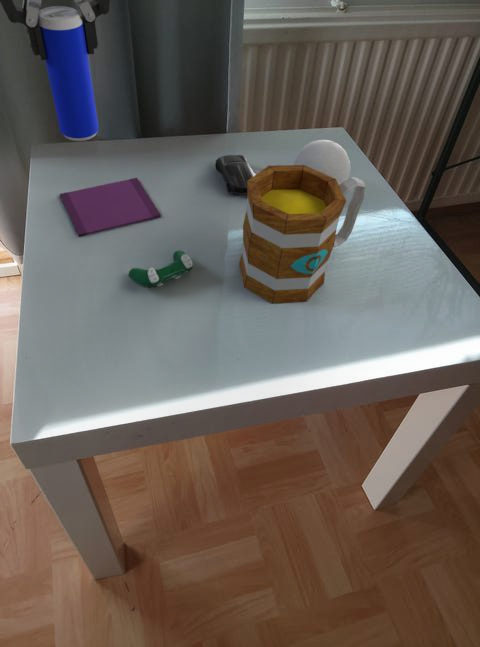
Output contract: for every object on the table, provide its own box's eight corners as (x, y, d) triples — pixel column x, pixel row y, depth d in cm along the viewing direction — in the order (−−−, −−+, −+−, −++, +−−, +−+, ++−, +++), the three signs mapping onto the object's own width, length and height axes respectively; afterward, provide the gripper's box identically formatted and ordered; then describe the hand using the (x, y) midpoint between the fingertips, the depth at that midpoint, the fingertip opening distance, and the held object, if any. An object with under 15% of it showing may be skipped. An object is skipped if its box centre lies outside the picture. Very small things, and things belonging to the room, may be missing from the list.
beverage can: (87, 120, 73) (68, 2, 61) (106, 136, 70) (89, 16, 59) (54, 130, 70) (27, 9, 59) (71, 146, 68) (47, 23, 57)
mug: (268, 317, 72) (282, 234, 61) (221, 260, 79) (226, 176, 68) (372, 274, 80) (401, 194, 68) (321, 226, 87) (340, 146, 76)
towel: (78, 236, 81) (78, 234, 80) (59, 195, 87) (59, 193, 87) (161, 216, 85) (161, 214, 85) (137, 179, 92) (136, 177, 92)
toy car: (241, 162, 99) (242, 143, 96) (262, 197, 91) (264, 178, 88) (212, 165, 97) (213, 147, 94) (232, 201, 90) (233, 182, 87)
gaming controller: (135, 294, 76) (147, 292, 70) (125, 271, 75) (136, 266, 70) (187, 272, 80) (203, 268, 74) (178, 249, 79) (193, 244, 74)
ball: (285, 203, 91) (293, 152, 83) (294, 174, 97) (302, 124, 90) (340, 214, 89) (353, 164, 82) (345, 184, 96) (358, 134, 88)
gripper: (94, -133, 54) (113, 37, 67) (-51, -134, 49) (-1, 49, 62) (115, -119, 50) (131, 59, 63) (-41, -119, 45) (11, 75, 58)
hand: (65, 54), depth 62 cm, fingers closed on beverage can, 5 cm apart
